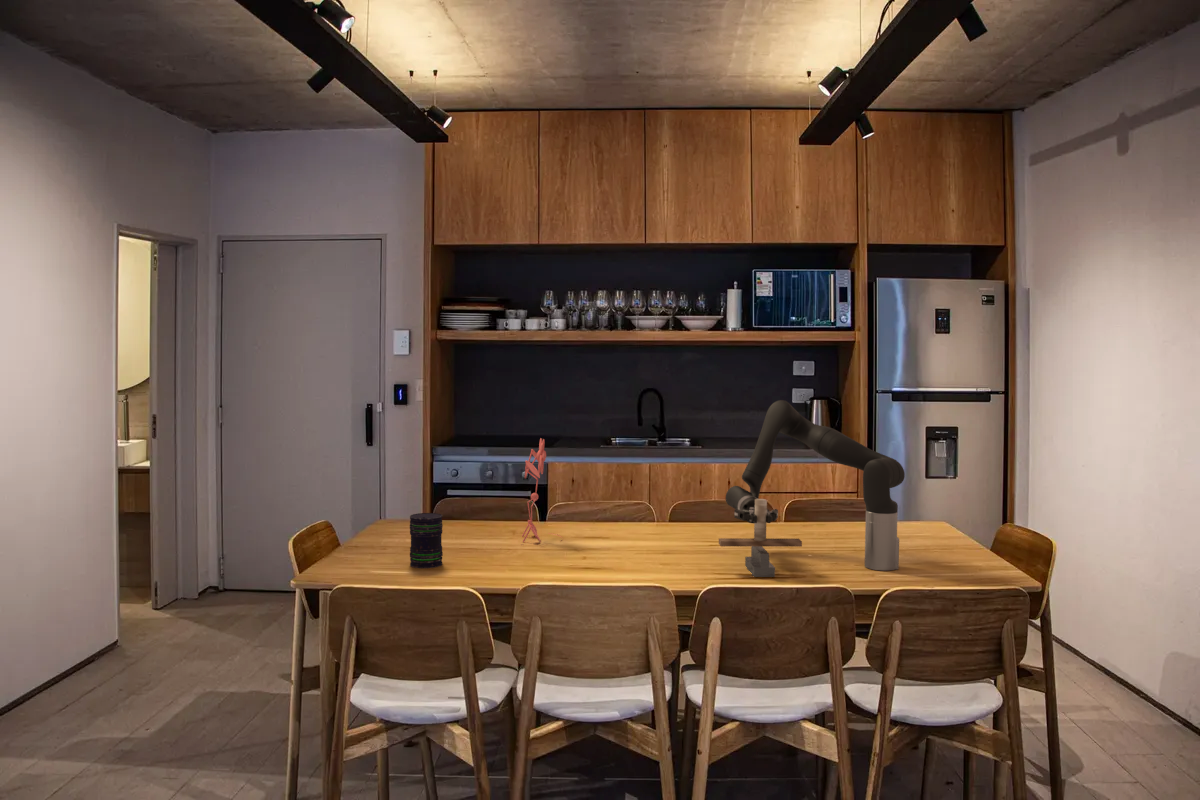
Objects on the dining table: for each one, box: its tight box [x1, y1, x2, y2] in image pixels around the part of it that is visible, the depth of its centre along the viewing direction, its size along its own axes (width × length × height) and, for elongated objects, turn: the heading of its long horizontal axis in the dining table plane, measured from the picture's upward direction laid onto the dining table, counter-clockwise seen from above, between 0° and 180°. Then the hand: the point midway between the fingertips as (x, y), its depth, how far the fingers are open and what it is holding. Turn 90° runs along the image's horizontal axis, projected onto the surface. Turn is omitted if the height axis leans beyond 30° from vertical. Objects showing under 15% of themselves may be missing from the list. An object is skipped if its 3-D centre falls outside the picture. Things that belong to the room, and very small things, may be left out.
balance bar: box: [718, 498, 803, 548], centre depth 273 cm, size 24×4×14 cm, turn 91°
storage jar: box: [409, 512, 444, 569], centre depth 280 cm, size 10×10×15 cm
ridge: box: [744, 546, 776, 578], centre depth 273 cm, size 6×14×7 cm, turn 2°
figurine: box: [520, 437, 562, 546], centre depth 317 cm, size 15×26×35 cm, turn 6°
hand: (762, 519), depth 270 cm, fingers closed on balance bar, 3 cm apart
